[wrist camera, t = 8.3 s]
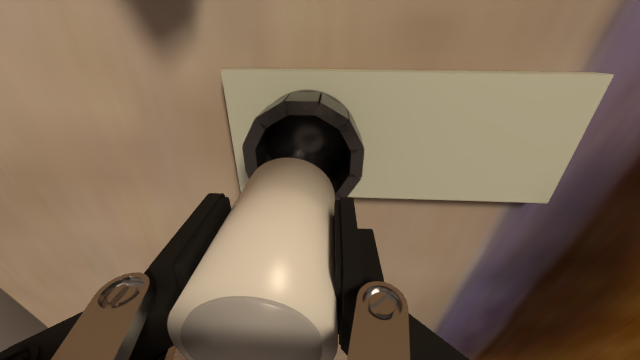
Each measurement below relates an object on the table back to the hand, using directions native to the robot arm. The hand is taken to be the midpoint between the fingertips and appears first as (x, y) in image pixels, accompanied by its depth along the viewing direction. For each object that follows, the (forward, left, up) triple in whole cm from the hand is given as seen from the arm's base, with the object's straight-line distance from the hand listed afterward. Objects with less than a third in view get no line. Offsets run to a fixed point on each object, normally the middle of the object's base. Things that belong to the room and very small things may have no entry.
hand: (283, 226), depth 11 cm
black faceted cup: (0, 0, -10) cm, 10 cm away
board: (-7, 0, -12) cm, 14 cm away
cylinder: (0, 0, -2) cm, 2 cm away
